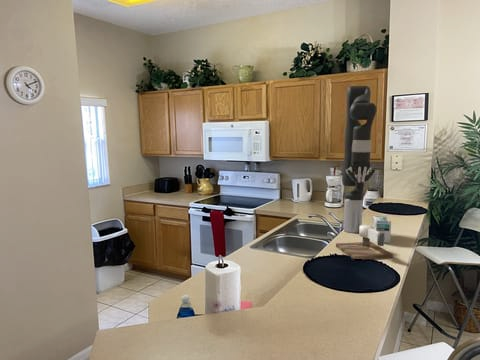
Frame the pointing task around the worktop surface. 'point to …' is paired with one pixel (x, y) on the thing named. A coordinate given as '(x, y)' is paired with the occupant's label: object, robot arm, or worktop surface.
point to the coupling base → (363, 250)
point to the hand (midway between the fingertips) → (359, 190)
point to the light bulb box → (382, 226)
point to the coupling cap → (371, 234)
